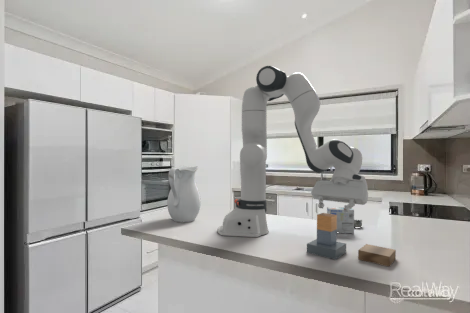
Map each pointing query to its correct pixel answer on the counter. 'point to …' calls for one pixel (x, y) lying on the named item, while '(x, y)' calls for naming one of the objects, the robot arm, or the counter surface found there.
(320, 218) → the orange and blue block
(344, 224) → the light bulb box
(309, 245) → the stand
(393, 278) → the counter surface
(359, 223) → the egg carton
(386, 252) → the stand
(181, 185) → the pitcher
